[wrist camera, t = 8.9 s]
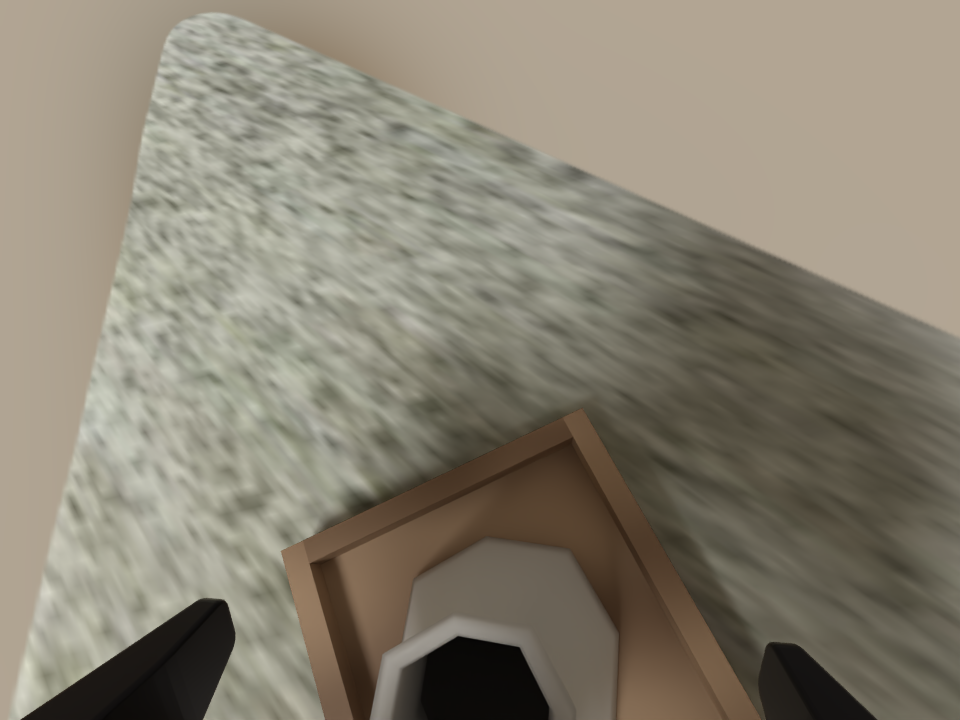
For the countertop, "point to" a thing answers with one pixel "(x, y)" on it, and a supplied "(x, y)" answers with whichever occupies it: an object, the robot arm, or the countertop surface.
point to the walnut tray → (522, 517)
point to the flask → (502, 641)
